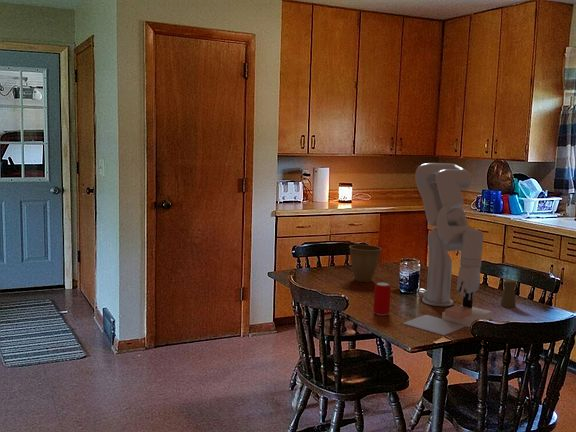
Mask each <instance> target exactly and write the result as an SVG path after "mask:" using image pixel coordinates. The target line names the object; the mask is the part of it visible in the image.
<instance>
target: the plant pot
mask: <svg viewBox="0 0 576 432" xmlns="http://www.w3.org/2000/svg"><path fill="white" fill-rule="evenodd" d="M381 252H382V247H380V246H376V245H370V244H352V245H349V256H350V263H351V269H352V274H353V276H354V277H353V278H354V279H355V281H357V282H360V283H370V282H371V281H372V279H373V277H374V274H375V272H376V270H377V267H378V264H379V261H380V258H381V257H380V256H381Z"/></svg>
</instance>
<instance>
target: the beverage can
mask: <svg viewBox="0 0 576 432" xmlns="http://www.w3.org/2000/svg"><path fill="white" fill-rule="evenodd" d="M391 292H392V291H391V286H390V284H389V283H387V282H377V283H376V284H375V286H374V292H373V293H374V294H373V295H374V296H373V313H374V314H375V315H377V316H380V317H381V316H382V317H383V316H387V315H389V314H390V306H391Z"/></svg>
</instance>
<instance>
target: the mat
mask: <svg viewBox="0 0 576 432" xmlns="http://www.w3.org/2000/svg"><path fill="white" fill-rule="evenodd" d="M402 324H403V325H405V326H408V327H411V328H416V329H419V330H422V331H425V332H429V333H432V334H436V335H440V336H443V337H445V336H447V335H449V334H451V333H454V332H456V331H459V330H461V329H463V328H465V327H466V325H463V324H459V323H455V322H452V321H448V320H444V319H442V318H440V317H436V316H432V315H428V314H424V315H421V316H418V317H416V318H415V317H414V318H413V319H410V320H407V321H405V322H403V323H402Z"/></svg>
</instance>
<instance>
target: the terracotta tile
mask: <svg viewBox="0 0 576 432" xmlns="http://www.w3.org/2000/svg"><path fill="white" fill-rule="evenodd" d="M460 305H461V304H460ZM460 305H459V304H456V305H453V306H449V307H448V308H445V310H444V312H445V316H448V317H452V318H455V319H459V320H460V319H462V318H465V317H467V316H470V315H472V308H468V307H464V306H460Z"/></svg>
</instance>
